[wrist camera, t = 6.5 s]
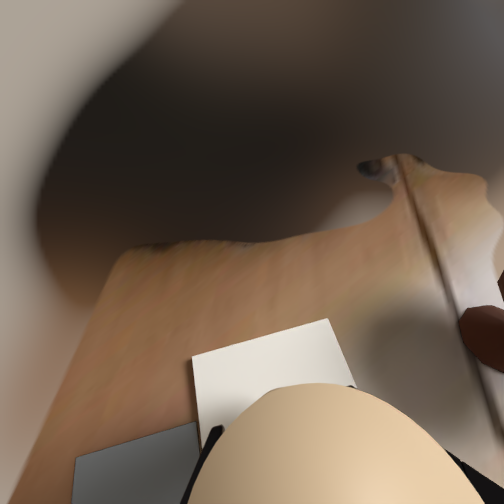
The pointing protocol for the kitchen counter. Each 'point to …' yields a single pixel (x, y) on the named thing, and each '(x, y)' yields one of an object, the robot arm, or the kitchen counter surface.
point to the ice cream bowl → (485, 332)
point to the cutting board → (265, 370)
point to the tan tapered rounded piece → (328, 454)
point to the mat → (139, 469)
